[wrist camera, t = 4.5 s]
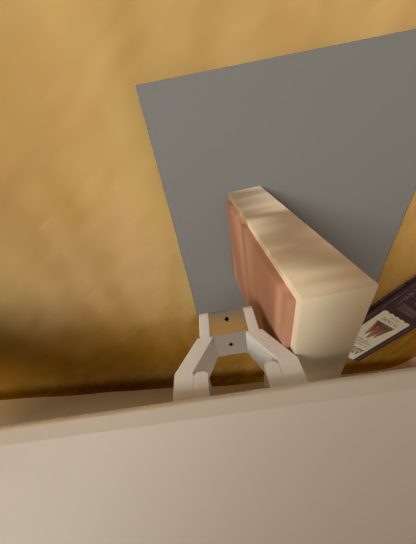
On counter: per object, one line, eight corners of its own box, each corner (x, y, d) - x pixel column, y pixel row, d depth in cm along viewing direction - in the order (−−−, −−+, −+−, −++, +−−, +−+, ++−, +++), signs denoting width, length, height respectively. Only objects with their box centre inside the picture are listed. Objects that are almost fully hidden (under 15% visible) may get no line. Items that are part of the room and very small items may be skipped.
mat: (200, 321, 26) (200, 325, 26) (137, 86, 13) (135, 85, 13) (366, 294, 26) (370, 298, 25) (475, 18, 12) (487, 14, 12)
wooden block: (233, 274, 21) (281, 405, 12) (224, 193, 17) (294, 302, 7) (260, 268, 21) (331, 395, 12) (260, 185, 17) (379, 284, 7)
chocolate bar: (489, 284, 25) (358, 361, 34) (480, 279, 26) (354, 356, 35) (458, 251, 22) (321, 346, 31) (449, 246, 23) (317, 340, 31)
